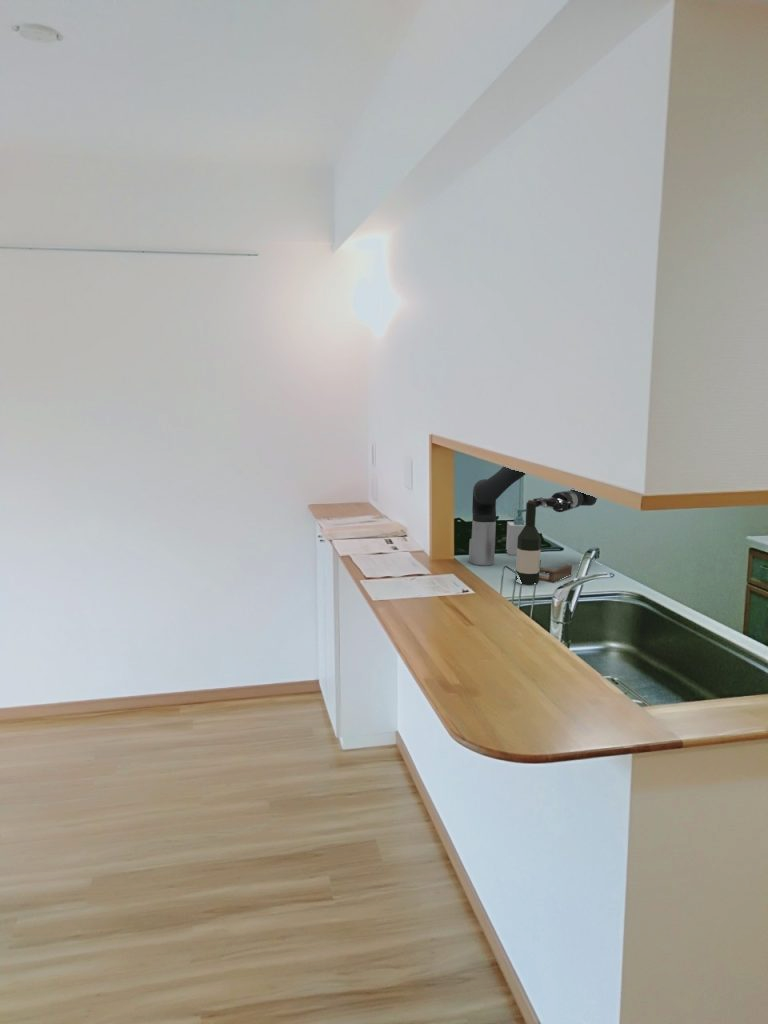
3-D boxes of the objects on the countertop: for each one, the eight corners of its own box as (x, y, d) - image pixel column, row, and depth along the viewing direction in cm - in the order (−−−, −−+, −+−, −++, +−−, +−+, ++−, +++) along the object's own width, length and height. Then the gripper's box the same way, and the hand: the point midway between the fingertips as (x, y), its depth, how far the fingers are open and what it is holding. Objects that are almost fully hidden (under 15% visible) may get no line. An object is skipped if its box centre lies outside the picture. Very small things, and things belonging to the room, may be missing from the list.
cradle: (517, 575, 296) (517, 565, 295) (535, 569, 307) (536, 559, 306) (553, 582, 287) (554, 572, 286) (571, 575, 297) (571, 565, 297)
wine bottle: (537, 579, 290) (542, 499, 285) (539, 585, 282) (544, 502, 277) (514, 578, 291) (518, 498, 286) (516, 584, 283) (520, 501, 278)
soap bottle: (529, 555, 330) (532, 510, 327) (508, 555, 330) (510, 510, 327) (526, 551, 338) (528, 507, 335) (505, 550, 338) (508, 506, 335)
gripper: (547, 489, 306) (527, 493, 293) (582, 493, 297) (562, 497, 284) (546, 508, 307) (526, 513, 295) (580, 513, 298) (561, 518, 286)
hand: (543, 505), depth 289 cm, fingers open, 8 cm apart
